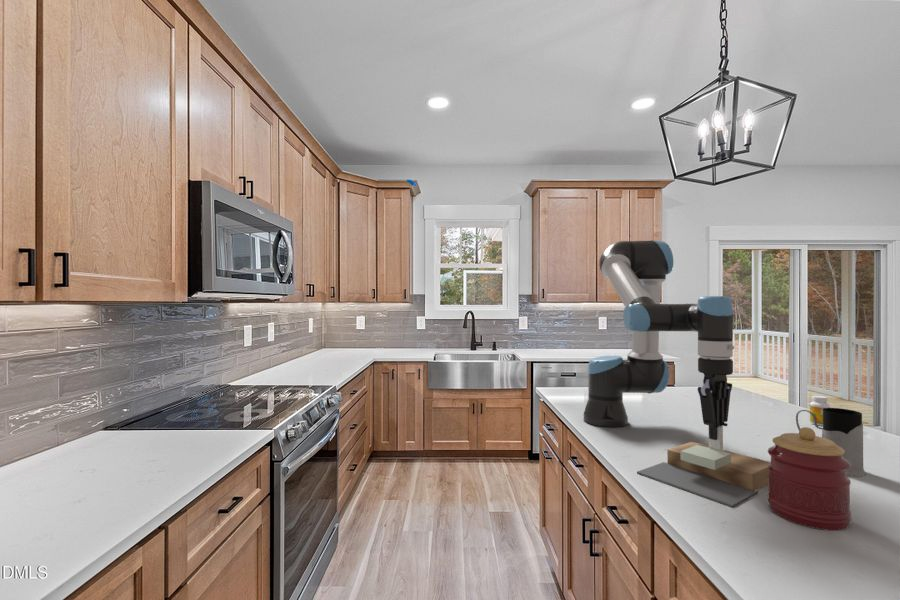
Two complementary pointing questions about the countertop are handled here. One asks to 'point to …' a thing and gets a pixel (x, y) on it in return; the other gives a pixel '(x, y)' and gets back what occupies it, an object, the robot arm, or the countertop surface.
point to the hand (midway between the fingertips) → (715, 451)
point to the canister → (809, 480)
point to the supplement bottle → (818, 409)
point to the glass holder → (844, 435)
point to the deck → (727, 468)
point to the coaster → (705, 457)
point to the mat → (699, 484)
